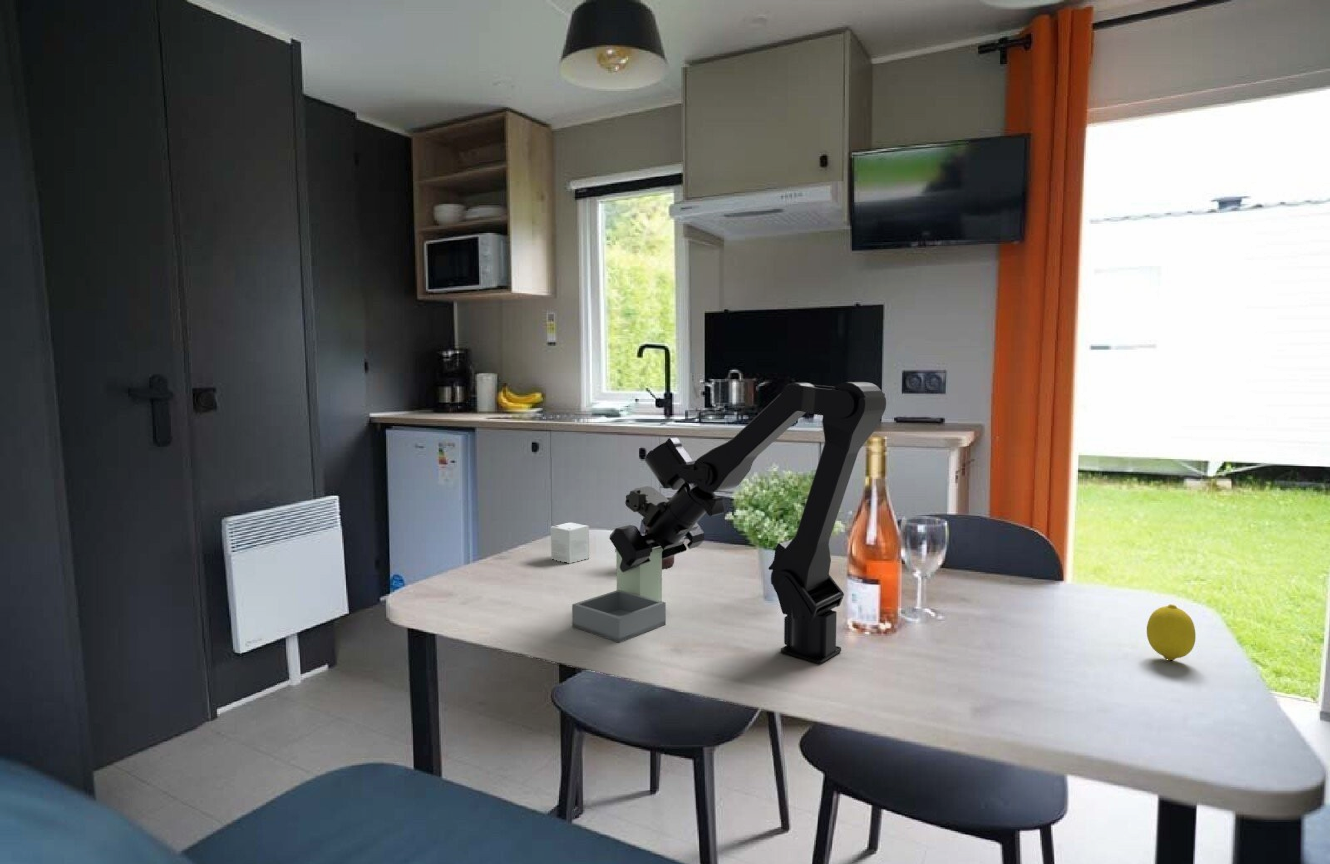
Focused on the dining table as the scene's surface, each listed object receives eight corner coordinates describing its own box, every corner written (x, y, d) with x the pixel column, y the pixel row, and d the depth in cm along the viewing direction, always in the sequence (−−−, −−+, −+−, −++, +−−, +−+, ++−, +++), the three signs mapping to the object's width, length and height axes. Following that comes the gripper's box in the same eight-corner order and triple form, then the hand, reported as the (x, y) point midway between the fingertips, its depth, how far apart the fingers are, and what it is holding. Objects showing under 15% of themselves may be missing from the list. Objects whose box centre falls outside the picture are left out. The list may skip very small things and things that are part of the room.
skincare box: (590, 559, 156) (589, 525, 156) (568, 564, 152) (568, 529, 151) (571, 554, 160) (571, 521, 160) (550, 559, 156) (549, 525, 155)
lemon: (1195, 672, 96) (1199, 613, 96) (1145, 663, 99) (1148, 606, 99) (1192, 658, 101) (1195, 602, 100) (1144, 650, 104) (1147, 596, 103)
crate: (665, 624, 115) (665, 602, 114) (619, 642, 107) (619, 618, 107) (618, 610, 122) (618, 589, 121) (572, 626, 114) (572, 604, 113)
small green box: (663, 604, 125) (663, 547, 124) (640, 613, 120) (640, 553, 119) (638, 598, 128) (638, 542, 128) (615, 605, 124) (615, 548, 123)
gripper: (691, 467, 127) (644, 521, 135) (617, 478, 113) (570, 538, 121) (727, 517, 123) (677, 569, 131) (656, 535, 108) (604, 593, 116)
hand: (633, 566), depth 125 cm, fingers closed on small green box, 5 cm apart
